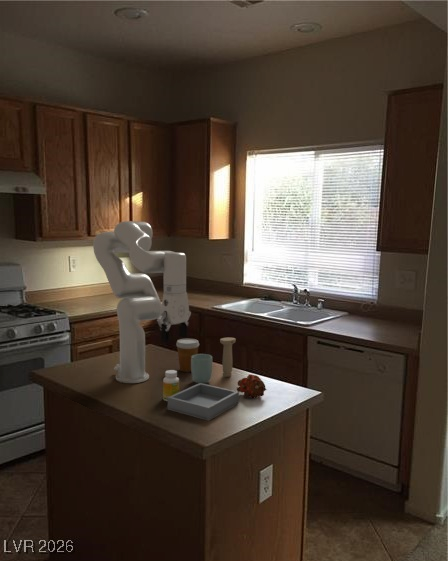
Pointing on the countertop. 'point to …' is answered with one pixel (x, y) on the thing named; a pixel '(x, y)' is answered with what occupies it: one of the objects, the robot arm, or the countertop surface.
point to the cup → (201, 368)
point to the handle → (227, 355)
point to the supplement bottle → (170, 384)
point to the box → (203, 401)
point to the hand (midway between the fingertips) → (174, 339)
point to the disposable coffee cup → (186, 352)
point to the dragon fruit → (251, 386)
